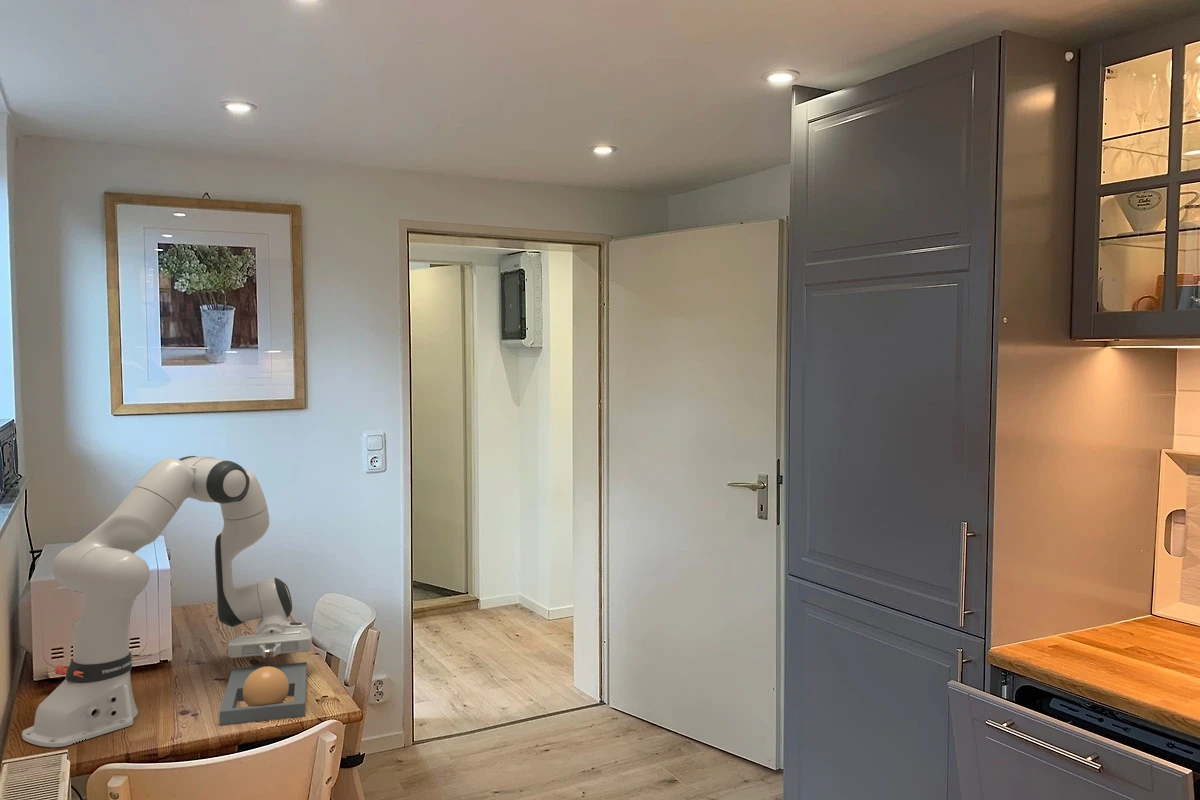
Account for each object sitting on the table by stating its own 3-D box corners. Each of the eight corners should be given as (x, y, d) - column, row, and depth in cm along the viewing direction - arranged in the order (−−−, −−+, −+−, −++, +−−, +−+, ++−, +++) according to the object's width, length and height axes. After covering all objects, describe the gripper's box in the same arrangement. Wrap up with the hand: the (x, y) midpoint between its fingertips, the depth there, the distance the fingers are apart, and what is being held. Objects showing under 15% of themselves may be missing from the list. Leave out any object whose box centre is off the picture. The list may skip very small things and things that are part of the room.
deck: (232, 680, 222) (232, 668, 222) (306, 673, 227) (306, 662, 227) (219, 725, 194) (219, 711, 194) (304, 716, 200) (304, 703, 200)
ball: (267, 653, 208) (268, 689, 211) (232, 673, 199) (233, 710, 202) (297, 667, 204) (298, 704, 206) (263, 688, 195) (264, 726, 198)
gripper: (229, 629, 228) (223, 645, 214) (312, 622, 234) (311, 638, 221) (230, 652, 228) (224, 670, 215) (312, 645, 234) (311, 662, 221)
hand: (269, 654), depth 218 cm, fingers closed
